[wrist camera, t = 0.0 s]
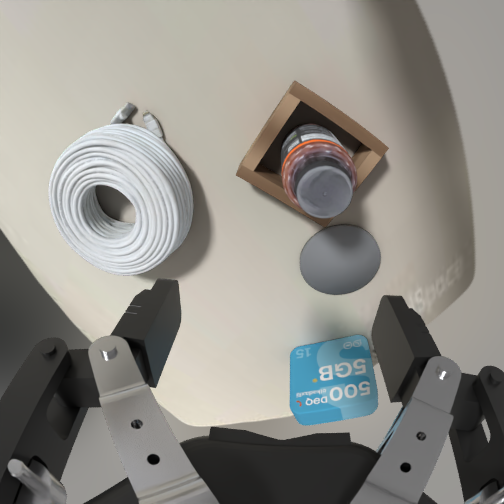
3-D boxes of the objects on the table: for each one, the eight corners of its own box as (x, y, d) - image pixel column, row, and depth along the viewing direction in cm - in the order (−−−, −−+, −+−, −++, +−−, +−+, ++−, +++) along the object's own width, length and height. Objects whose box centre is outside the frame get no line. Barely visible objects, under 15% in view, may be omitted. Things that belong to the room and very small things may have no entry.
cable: (141, 89, 28) (114, 97, 23) (228, 218, 36) (219, 248, 31) (48, 174, 34) (21, 193, 29) (124, 271, 42) (107, 300, 37)
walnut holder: (294, 80, 26) (296, 82, 24) (379, 139, 29) (388, 148, 26) (239, 164, 32) (235, 175, 29) (321, 213, 34) (325, 227, 31)
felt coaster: (333, 209, 34) (334, 211, 33) (394, 251, 36) (396, 253, 35) (283, 269, 39) (283, 272, 38) (344, 302, 41) (345, 305, 41)
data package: (365, 332, 44) (379, 399, 34) (367, 349, 47) (379, 413, 37) (289, 347, 47) (289, 415, 37) (296, 363, 50) (296, 427, 40)
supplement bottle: (327, 184, 32) (347, 241, 23) (273, 168, 32) (270, 220, 22) (347, 132, 29) (379, 170, 19) (290, 114, 28) (296, 142, 19)
